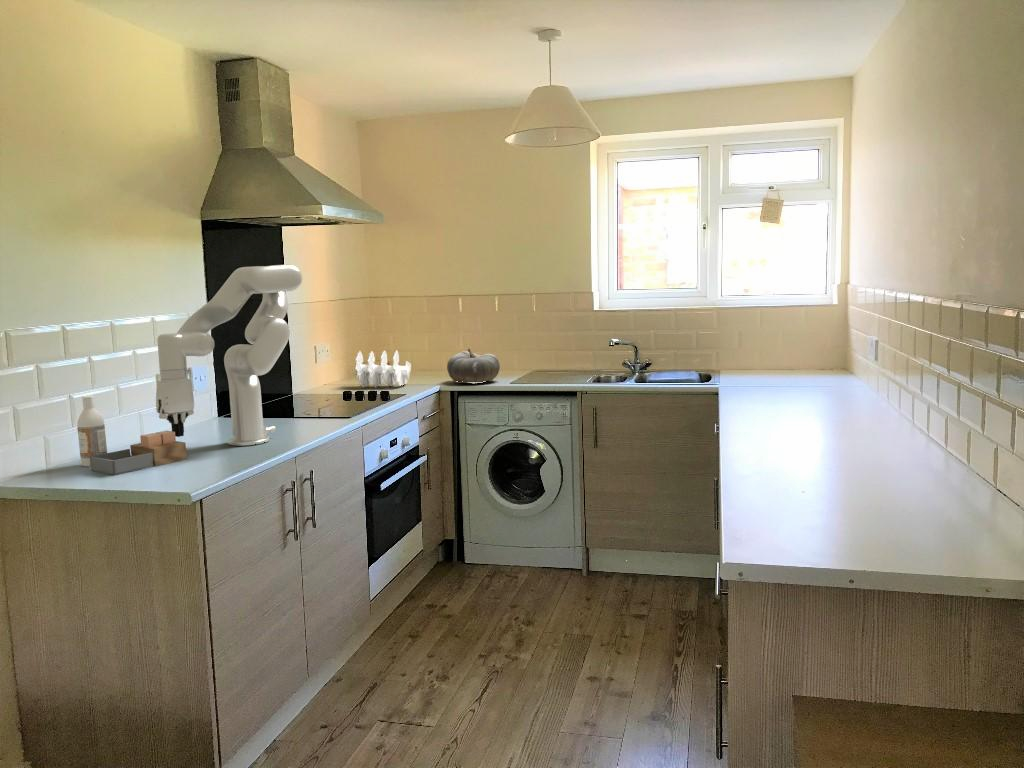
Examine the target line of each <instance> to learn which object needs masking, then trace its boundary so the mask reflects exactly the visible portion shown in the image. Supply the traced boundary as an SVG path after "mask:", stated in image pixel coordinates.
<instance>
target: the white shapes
mask: <svg viewBox="0 0 1024 768" xmlns="http://www.w3.org/2000/svg"><path fill="white" fill-rule="evenodd" d="M363 356H364V355H363V353H362V351H361V350H359V352H356V358H355V368H354V369H355V371H356V380H358V383H359V384H361V386H362V388H368V386H370V384H371V385H373V386H374V389H377V387H378V386H380V387H381V386H382V384H383V383H384V382H385V385H386V387H387V386H388V387H390V385H391V386H393V385H394V384H396V383H397V384H398V387H399V386H401V385H404V384H406V385H407V384H408V381H409V379H410V376H411V375H410V374H411V372H412V371H411V370H412V363H411V362H409V361H408V360H405V365H399V363H400V354H399V351H398V350H397V349H395V352H394V351H393V356H392V357H393V358H392V362H393V363H392V365H388V354H387V351H386V350H383V351H381V356H380V364H375V362H376V358H375V353H374V351H373V350H371V351H370V353H368V359H367V364H363V362H364V357H363ZM404 386H405V385H404ZM401 387H402V386H401Z"/></svg>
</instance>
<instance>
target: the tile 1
mask: <svg viewBox="0 0 1024 768" xmlns="http://www.w3.org/2000/svg"><path fill="white" fill-rule="evenodd" d="M154 433H155V434H161V441H162V444H166V443H171V442H176V441H177V437H176V436H175V432H174V431H172V430H163V431H162V430H161V431H158V432H154Z"/></svg>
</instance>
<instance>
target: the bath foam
mask: <svg viewBox="0 0 1024 768" xmlns="http://www.w3.org/2000/svg"><path fill="white" fill-rule="evenodd" d="M82 407H83V410H82V411H81V413H80V415H79V417H78V419H77V425H76V426H77V428H76V429H77V436H78V437H77V438H78V446H79V447H78V449H79V455H80V457H79V458H80V462H81V463H80V464H81V466H82V467H85V468H86V467H90V468H91V465H90V456H95V455H100V454H105V453H108V447H107V437H106V436H107V435H106V424H105V421H104V419H103V416H102V415H101V413H100V412H99V411H98V410H97V409H96V406H95V397H94V395H84V396H82Z"/></svg>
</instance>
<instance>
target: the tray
mask: <svg viewBox="0 0 1024 768" xmlns="http://www.w3.org/2000/svg"><path fill="white" fill-rule="evenodd" d="M90 465H91V467H90V471H92V472H96V473H102V474H105V475H111V476H118V475H122V474H126V473H131V472H136V471H141V470H144V469H149V468H154V467H155V466H154V465H153V454H152V453H147V454H142V455H138V456H131V448H126V449H122V450H116V451H112V452H111V451H110V452H107V453H105V454H100V455H95V456H90Z"/></svg>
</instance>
